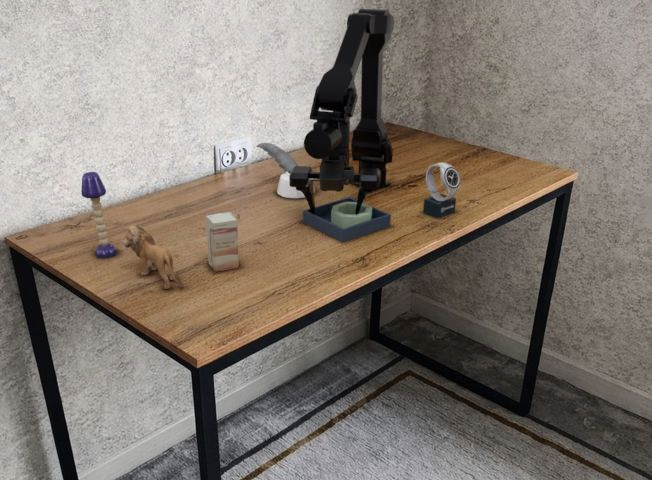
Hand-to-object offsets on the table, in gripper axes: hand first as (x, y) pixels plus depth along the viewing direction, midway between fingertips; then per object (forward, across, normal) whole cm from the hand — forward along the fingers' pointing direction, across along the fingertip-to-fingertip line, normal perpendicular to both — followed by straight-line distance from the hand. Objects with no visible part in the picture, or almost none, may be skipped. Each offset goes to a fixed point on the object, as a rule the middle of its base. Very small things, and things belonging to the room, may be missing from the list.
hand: (335, 216), depth 165 cm
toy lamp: (+2, -45, -20) cm, 49 cm away
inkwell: (+2, -15, +21) cm, 26 cm away
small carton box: (+2, -19, -23) cm, 30 cm away
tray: (+2, +2, 0) cm, 3 cm away
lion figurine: (+2, -31, -29) cm, 43 cm away
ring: (+1, +4, 0) cm, 4 cm away
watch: (+2, +22, +9) cm, 24 cm away
